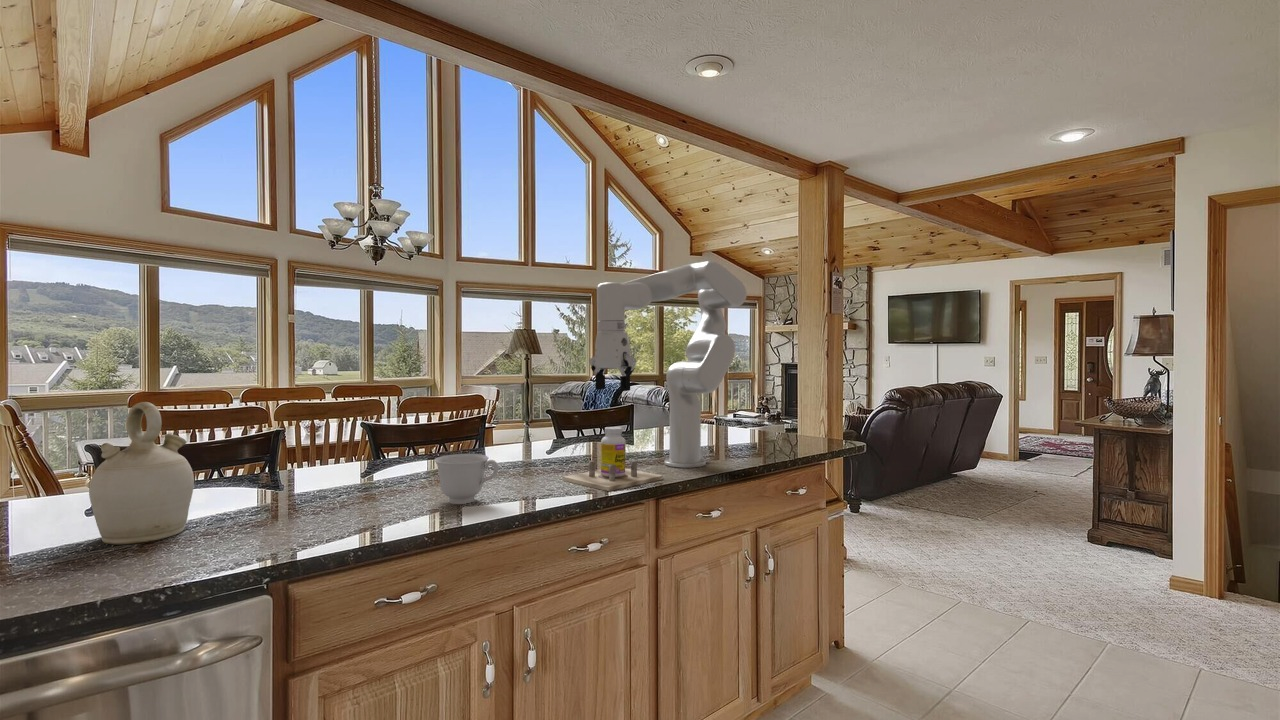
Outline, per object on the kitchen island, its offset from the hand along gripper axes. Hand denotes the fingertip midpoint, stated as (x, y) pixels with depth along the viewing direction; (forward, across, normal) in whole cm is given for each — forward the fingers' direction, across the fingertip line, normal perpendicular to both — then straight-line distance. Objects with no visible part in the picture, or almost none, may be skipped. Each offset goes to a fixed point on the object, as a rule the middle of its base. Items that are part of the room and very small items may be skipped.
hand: (612, 390), depth 170 cm
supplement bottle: (+23, -3, +3) cm, 23 cm away
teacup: (+23, +4, +43) cm, 49 cm away
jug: (+21, +26, +99) cm, 104 cm away
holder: (+24, -3, +4) cm, 24 cm away
